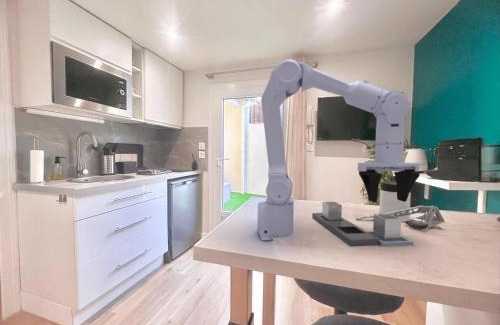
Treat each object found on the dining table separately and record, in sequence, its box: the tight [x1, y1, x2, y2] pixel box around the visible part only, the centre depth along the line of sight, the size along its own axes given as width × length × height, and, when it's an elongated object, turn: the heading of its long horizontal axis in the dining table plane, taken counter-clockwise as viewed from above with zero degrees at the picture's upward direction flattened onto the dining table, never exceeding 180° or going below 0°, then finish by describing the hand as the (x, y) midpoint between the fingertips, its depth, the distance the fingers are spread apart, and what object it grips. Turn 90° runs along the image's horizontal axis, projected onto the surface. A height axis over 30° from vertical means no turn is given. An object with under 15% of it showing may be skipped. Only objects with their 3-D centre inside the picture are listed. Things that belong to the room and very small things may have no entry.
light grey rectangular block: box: [372, 213, 402, 242], centre depth 54 cm, size 4×4×6 cm
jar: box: [378, 181, 412, 223], centre depth 74 cm, size 9×8×12 cm
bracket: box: [355, 205, 446, 229], centre depth 67 cm, size 3×21×10 cm, turn 79°
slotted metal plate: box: [311, 212, 380, 248], centre depth 61 cm, size 7×22×2 cm, turn 6°
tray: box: [366, 230, 414, 247], centre depth 54 cm, size 8×8×2 cm
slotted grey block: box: [321, 201, 343, 221], centre depth 66 cm, size 4×4×6 cm
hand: (387, 201), depth 53 cm, fingers open, 7 cm apart
